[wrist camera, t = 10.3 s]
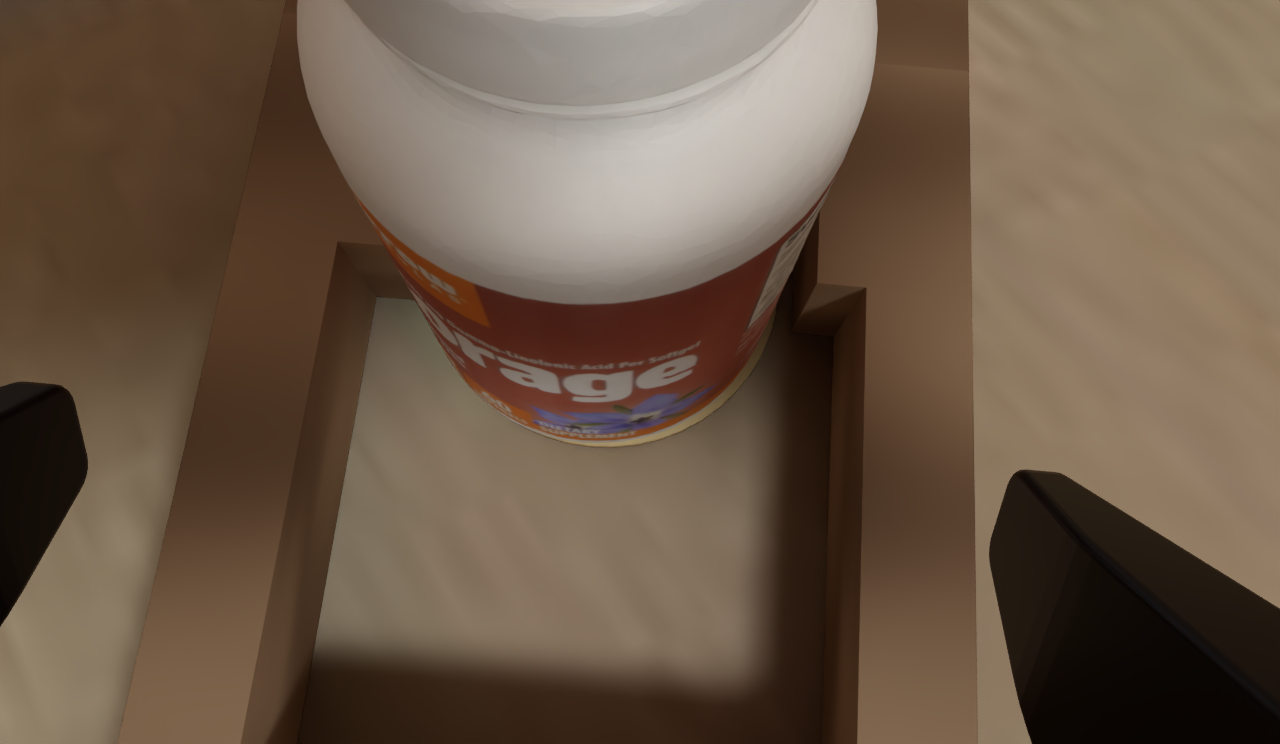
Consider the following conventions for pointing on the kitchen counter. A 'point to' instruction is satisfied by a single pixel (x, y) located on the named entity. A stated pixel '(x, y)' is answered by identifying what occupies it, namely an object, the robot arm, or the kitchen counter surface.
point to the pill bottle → (591, 182)
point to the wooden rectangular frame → (327, 401)
